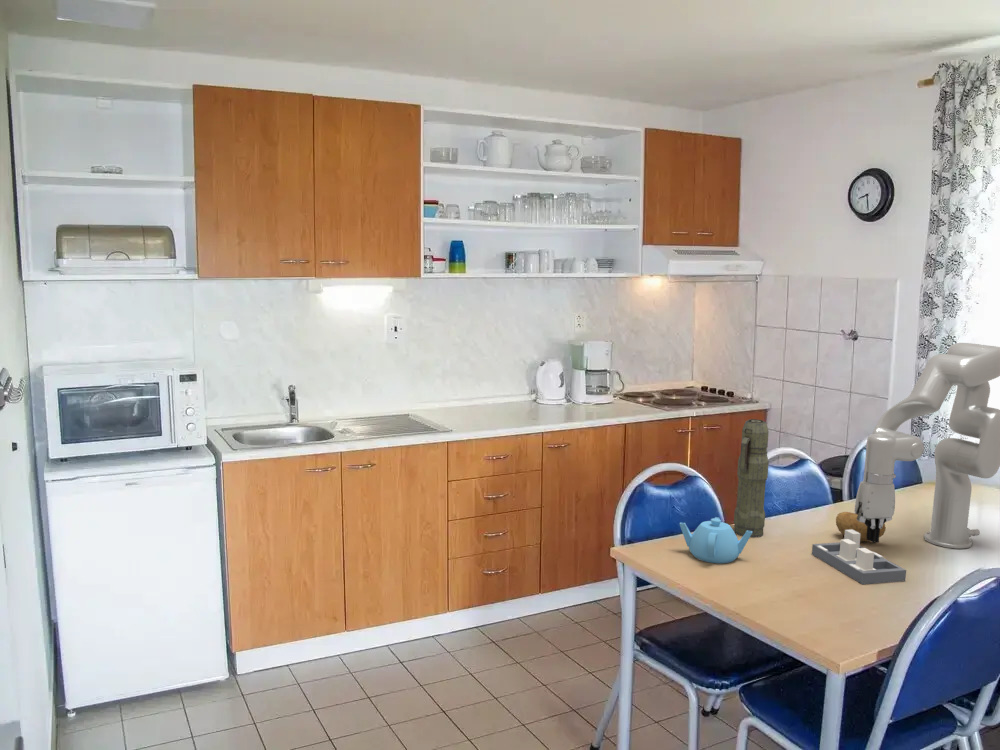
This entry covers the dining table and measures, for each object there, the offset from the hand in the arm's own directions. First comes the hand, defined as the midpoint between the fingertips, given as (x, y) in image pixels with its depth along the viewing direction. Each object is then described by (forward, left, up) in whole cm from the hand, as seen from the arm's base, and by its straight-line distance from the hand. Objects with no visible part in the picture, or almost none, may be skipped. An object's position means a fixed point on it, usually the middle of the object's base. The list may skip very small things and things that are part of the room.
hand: (872, 540), depth 232 cm
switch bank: (+10, +7, -4) cm, 13 cm away
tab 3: (+13, +14, -3) cm, 19 cm away
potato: (-5, -12, -5) cm, 14 cm away
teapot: (+45, -8, -5) cm, 46 cm away
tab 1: (+7, 0, -3) cm, 7 cm away
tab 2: (+13, +7, -3) cm, 15 cm away
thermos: (+25, -24, -5) cm, 35 cm away
